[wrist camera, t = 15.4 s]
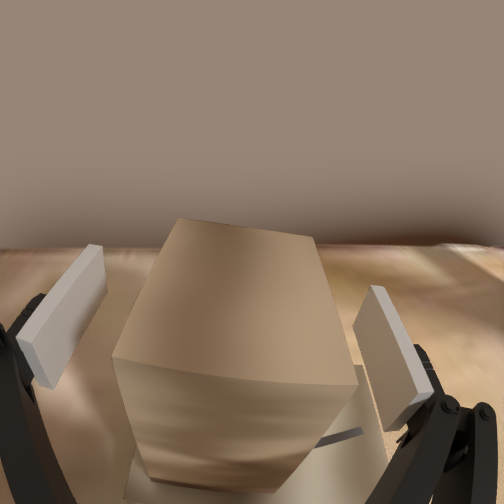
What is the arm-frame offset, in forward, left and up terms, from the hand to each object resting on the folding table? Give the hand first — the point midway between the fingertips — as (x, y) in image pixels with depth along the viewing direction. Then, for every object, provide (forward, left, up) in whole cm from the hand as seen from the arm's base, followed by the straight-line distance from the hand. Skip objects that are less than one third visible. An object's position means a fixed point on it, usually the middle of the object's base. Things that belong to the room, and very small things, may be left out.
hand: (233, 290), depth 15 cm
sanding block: (0, +3, -7) cm, 8 cm away
